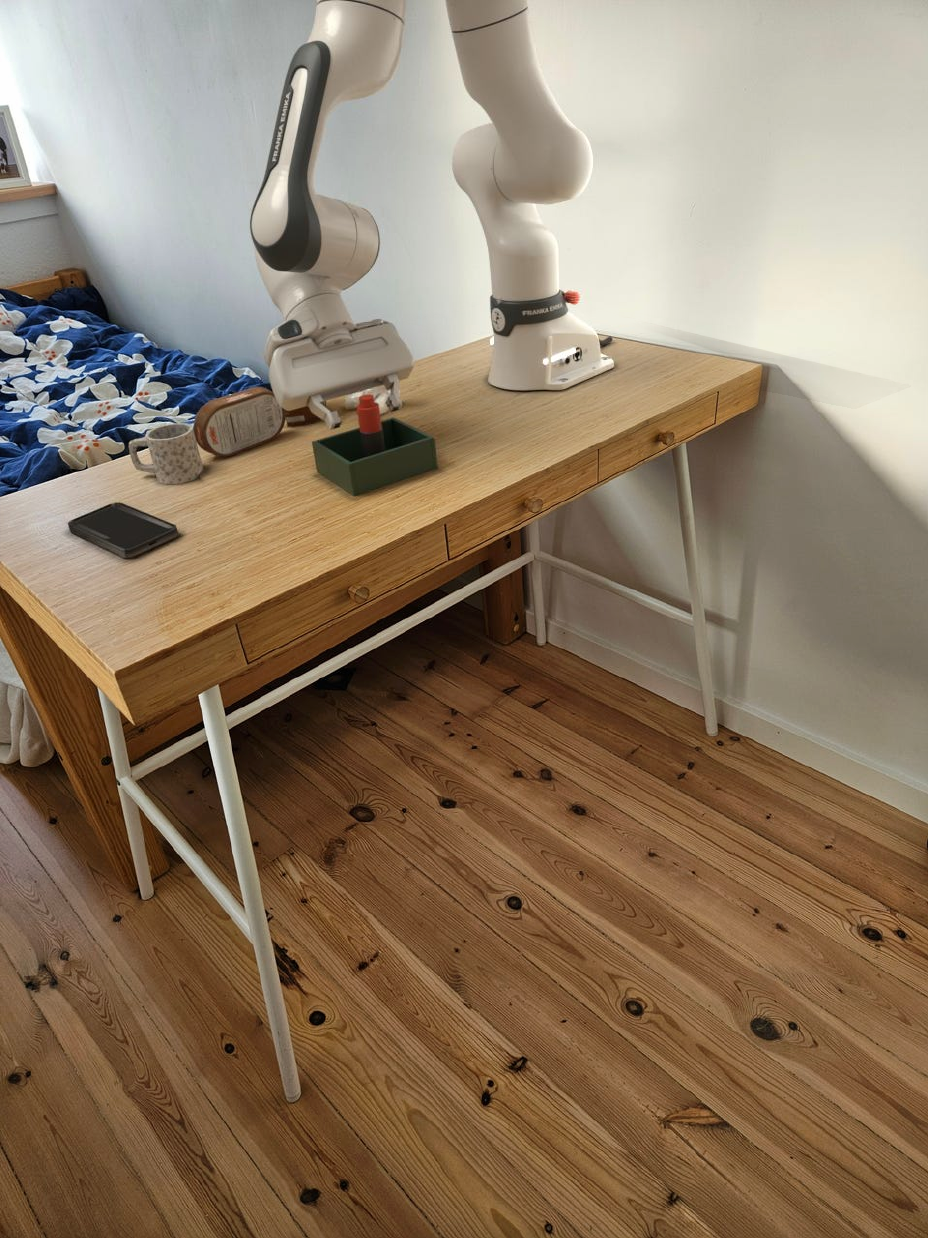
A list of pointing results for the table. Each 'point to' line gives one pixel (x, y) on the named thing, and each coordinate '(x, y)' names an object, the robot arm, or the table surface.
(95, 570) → the table surface
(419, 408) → the table surface
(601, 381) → the table surface
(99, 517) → the phone
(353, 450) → the dark green open box
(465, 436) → the table surface
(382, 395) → the seated beast figurine
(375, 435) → the red and grey bottle
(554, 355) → the robot arm
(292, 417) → the food container
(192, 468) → the mug
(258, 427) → the tin
